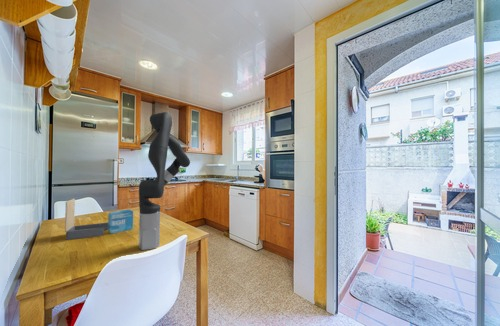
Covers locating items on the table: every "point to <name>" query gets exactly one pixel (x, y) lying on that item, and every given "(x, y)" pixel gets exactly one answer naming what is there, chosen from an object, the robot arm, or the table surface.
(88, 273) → the table surface
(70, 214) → the mailer box
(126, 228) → the blue carton
